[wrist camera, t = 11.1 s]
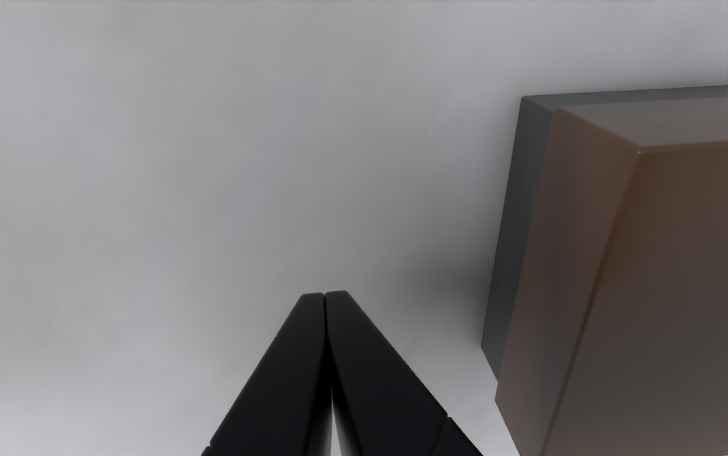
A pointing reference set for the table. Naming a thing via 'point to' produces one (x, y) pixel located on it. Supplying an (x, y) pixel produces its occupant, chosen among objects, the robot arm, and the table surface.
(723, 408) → the brown rectangular block
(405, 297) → the table surface
